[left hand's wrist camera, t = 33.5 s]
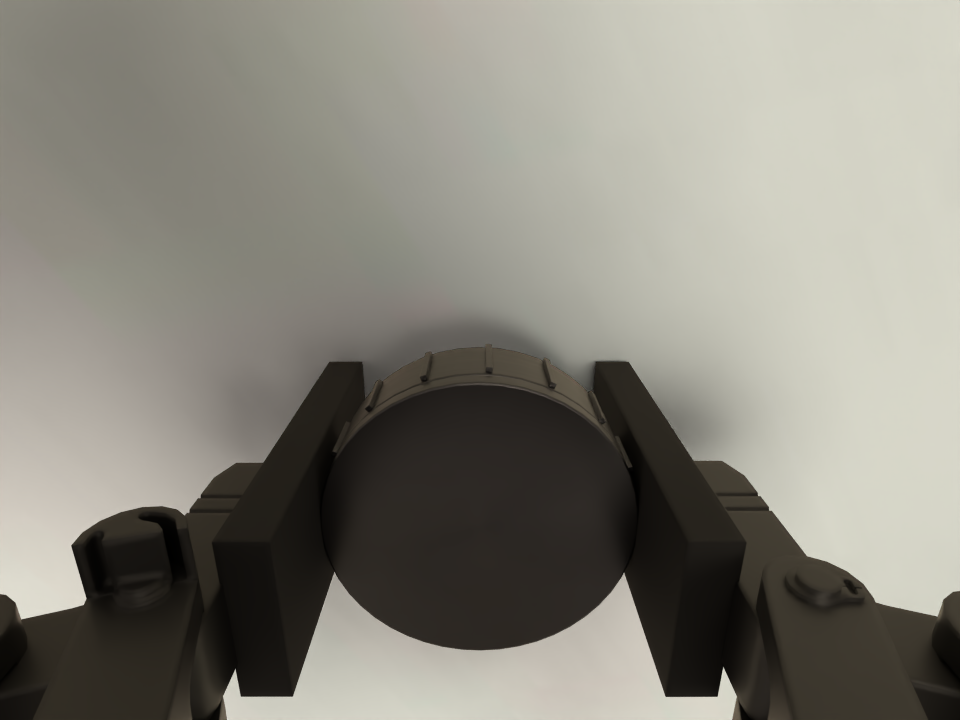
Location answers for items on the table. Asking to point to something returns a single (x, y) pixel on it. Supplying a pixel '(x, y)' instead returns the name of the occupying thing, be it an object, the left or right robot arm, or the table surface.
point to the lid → (479, 501)
